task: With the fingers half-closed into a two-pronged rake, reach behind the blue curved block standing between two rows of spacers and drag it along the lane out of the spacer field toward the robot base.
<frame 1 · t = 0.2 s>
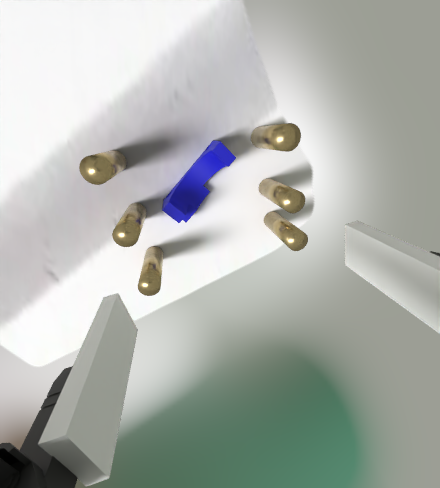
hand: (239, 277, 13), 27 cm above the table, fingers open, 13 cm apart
spacers: (202, 193, 38), on the table
blue curved block: (198, 180, 38), on the table
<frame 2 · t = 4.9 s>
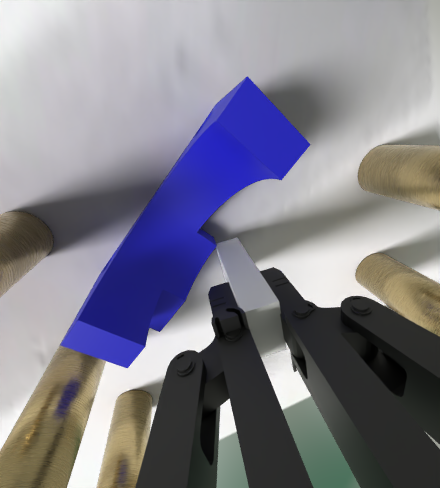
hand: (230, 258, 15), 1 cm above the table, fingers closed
spacers: (237, 290, 17), on the table
blue curved block: (184, 216, 15), on the table, touching gripper
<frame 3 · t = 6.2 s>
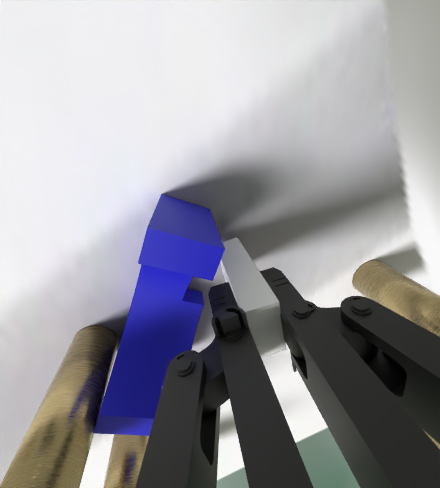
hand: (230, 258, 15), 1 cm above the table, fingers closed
spacers: (255, 364, 21), on the table
blue curved block: (171, 283, 16), on the table, touching spacers
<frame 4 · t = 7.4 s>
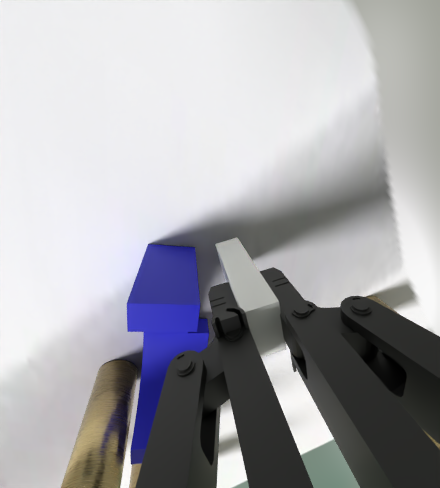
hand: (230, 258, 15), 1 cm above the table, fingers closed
spacers: (261, 388, 23), on the table
blue curved block: (177, 316, 18), on the table
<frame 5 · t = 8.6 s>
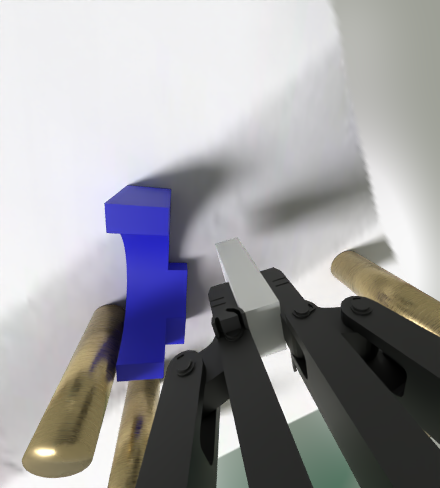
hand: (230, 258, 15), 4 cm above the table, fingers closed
spacers: (248, 344, 24), on the table
blue curved block: (159, 260, 19), on the table
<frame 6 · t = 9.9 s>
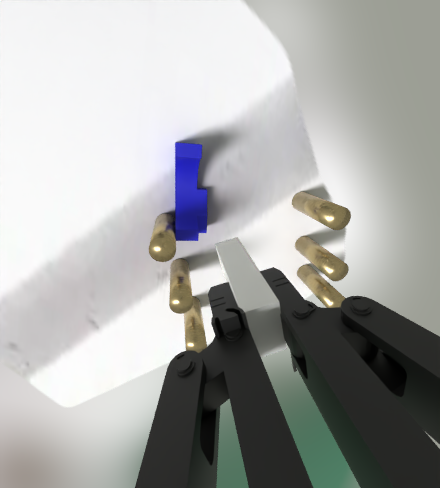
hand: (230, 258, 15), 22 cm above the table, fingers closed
spacers: (242, 249, 40), on the table
blue curved block: (190, 187, 35), on the table
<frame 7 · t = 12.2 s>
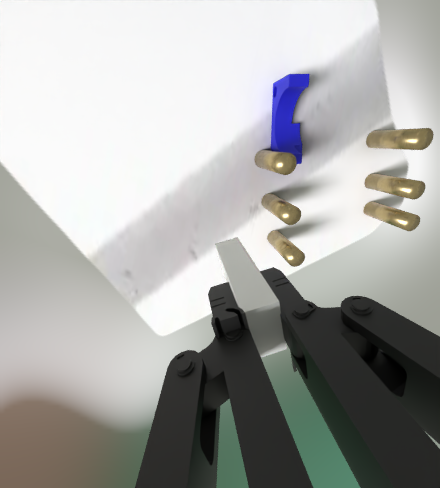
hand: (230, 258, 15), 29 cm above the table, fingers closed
spacers: (321, 185, 46), on the table
blue curved block: (283, 124, 41), on the table
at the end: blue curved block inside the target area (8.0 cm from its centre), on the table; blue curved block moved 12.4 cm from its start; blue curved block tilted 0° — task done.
